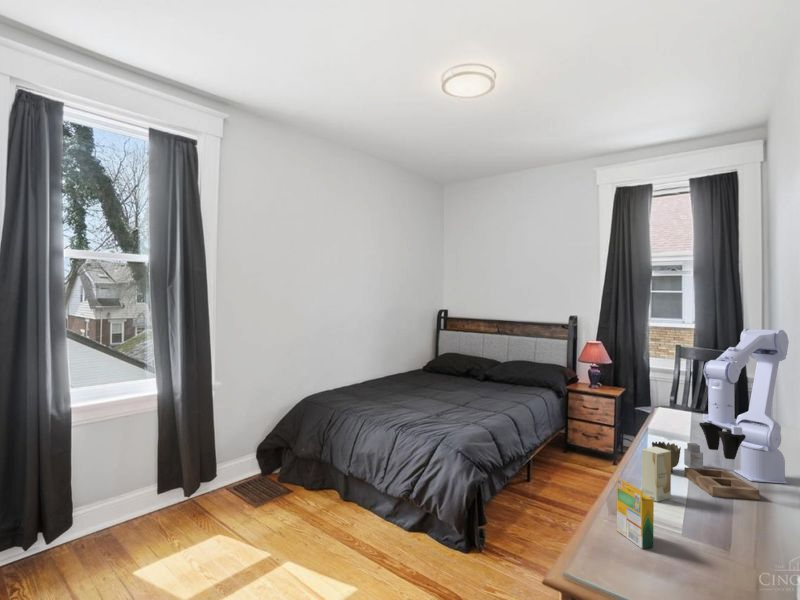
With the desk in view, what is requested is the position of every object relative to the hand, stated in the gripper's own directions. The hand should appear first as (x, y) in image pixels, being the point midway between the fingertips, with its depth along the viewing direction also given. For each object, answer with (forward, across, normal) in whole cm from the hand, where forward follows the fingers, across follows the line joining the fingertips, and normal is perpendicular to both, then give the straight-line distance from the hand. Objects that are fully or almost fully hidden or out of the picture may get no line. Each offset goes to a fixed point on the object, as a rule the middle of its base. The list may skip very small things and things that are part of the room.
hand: (721, 454), depth 115 cm
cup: (+10, -11, -9) cm, 17 cm away
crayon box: (+10, +32, -34) cm, 48 cm away
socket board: (+10, -1, 0) cm, 10 cm away
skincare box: (+10, +9, -20) cm, 24 cm away
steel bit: (+10, -17, +1) cm, 20 cm away
